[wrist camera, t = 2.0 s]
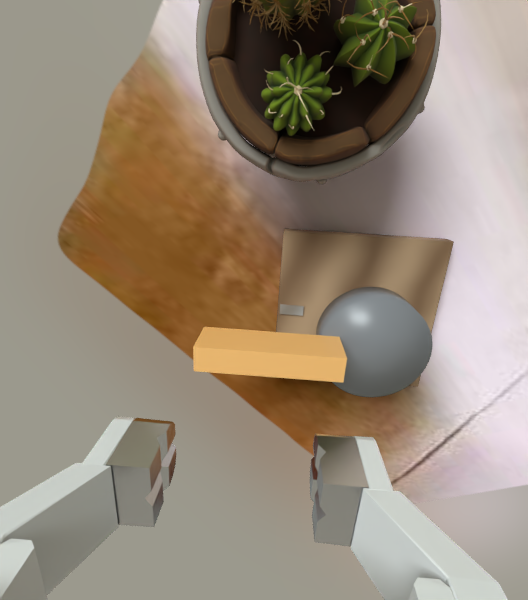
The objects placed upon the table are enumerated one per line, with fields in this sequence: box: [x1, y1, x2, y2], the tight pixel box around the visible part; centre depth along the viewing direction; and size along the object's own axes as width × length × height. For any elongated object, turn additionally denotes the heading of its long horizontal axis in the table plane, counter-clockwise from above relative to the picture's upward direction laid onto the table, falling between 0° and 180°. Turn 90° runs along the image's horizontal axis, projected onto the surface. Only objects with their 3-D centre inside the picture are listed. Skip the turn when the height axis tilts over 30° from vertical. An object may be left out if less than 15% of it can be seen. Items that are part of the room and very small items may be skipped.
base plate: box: [276, 229, 453, 386], centre depth 36 cm, size 16×16×2 cm
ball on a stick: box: [193, 287, 432, 397], centre depth 27 cm, size 18×9×6 cm, turn 87°
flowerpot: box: [196, 0, 441, 184], centre depth 20 cm, size 14×15×20 cm
